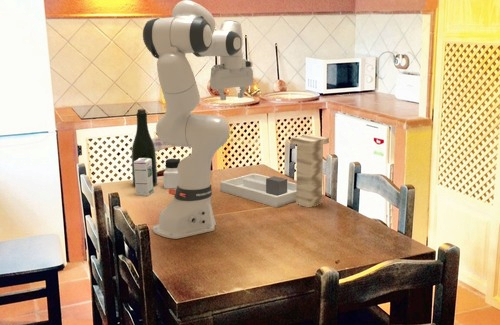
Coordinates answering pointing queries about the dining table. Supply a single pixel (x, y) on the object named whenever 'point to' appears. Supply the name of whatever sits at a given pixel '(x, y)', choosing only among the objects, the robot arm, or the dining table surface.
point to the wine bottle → (143, 144)
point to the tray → (258, 191)
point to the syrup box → (143, 176)
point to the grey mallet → (268, 185)
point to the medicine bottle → (171, 173)
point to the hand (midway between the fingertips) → (232, 98)
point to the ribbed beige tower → (309, 169)
